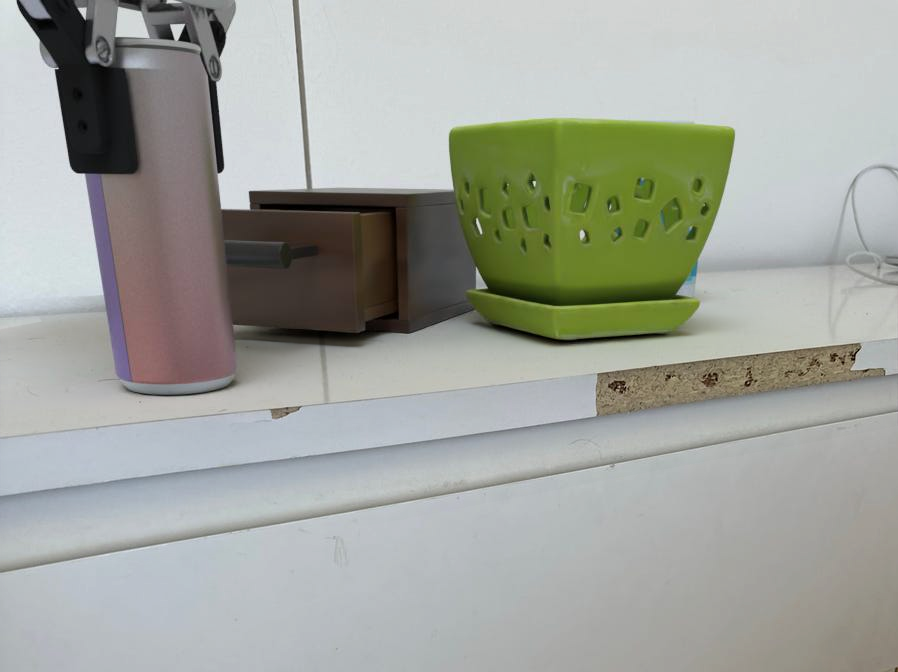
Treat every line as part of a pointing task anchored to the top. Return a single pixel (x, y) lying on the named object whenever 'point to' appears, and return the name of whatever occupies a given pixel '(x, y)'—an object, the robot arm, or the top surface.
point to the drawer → (311, 266)
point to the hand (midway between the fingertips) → (152, 169)
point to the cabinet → (405, 248)
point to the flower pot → (587, 220)
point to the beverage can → (165, 230)
